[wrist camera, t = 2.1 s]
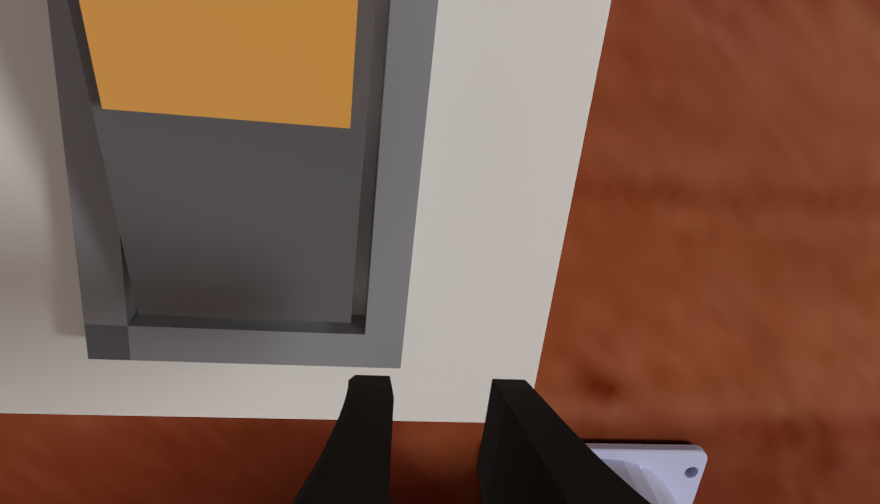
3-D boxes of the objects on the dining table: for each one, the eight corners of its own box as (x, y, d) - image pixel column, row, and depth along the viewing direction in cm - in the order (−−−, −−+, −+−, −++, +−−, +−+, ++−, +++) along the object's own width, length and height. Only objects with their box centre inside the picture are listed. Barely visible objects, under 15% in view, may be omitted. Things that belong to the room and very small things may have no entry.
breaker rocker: (351, 293, 18) (350, 331, 17) (148, 284, 17) (134, 323, 16) (384, -136, 11) (385, -112, 10) (54, -180, 11) (22, -159, 10)
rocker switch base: (507, 366, 24) (537, 454, 20) (-1, 350, 21) (-82, 447, 17) (622, -278, 16) (707, -344, 12) (-134, -409, 14) (-328, -543, 10)
